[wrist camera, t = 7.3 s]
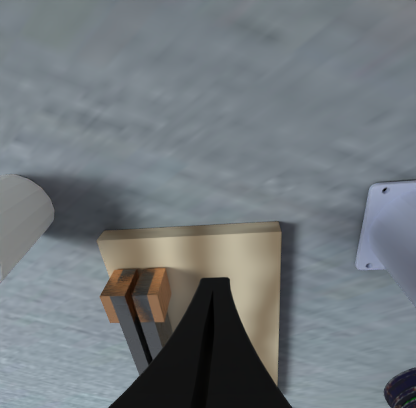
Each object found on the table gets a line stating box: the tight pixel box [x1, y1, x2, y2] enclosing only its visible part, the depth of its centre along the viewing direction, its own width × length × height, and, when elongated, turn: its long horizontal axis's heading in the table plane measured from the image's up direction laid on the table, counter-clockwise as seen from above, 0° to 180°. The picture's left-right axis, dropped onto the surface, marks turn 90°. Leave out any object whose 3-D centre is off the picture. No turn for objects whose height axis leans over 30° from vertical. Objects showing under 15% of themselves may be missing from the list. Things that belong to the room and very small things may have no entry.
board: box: [97, 221, 281, 385], centre depth 28 cm, size 15×25×2 cm, turn 6°
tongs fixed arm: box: [100, 269, 153, 375], centre depth 26 cm, size 4×21×3 cm, turn 6°
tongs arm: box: [132, 268, 173, 359], centre depth 26 cm, size 2×19×3 cm, turn 6°
